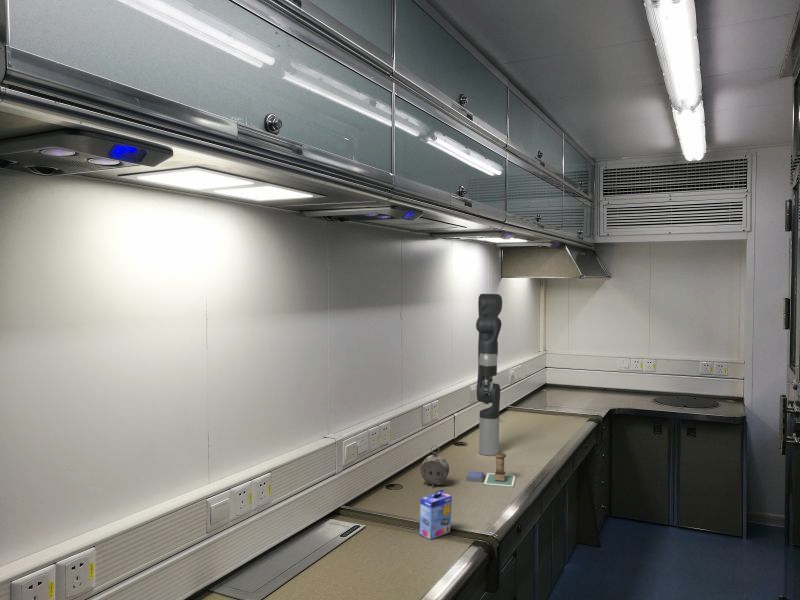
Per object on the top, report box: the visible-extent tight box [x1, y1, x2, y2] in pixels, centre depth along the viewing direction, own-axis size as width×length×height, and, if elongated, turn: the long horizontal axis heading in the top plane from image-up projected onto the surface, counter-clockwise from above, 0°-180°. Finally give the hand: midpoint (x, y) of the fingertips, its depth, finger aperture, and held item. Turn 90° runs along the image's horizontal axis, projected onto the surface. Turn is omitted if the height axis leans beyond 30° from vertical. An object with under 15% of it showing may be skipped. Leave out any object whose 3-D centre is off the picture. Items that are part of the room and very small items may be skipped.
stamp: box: [494, 452, 507, 482], centre depth 259 cm, size 6×4×10 cm
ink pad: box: [465, 470, 485, 483], centre depth 261 cm, size 8×6×2 cm
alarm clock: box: [420, 445, 450, 488], centre depth 250 cm, size 11×5×16 cm, turn 74°
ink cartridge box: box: [419, 488, 453, 541], centre depth 203 cm, size 10×6×14 cm, turn 135°
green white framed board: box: [483, 472, 516, 488], centre depth 259 cm, size 15×12×1 cm
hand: (487, 401), depth 269 cm, fingers open, 8 cm apart
